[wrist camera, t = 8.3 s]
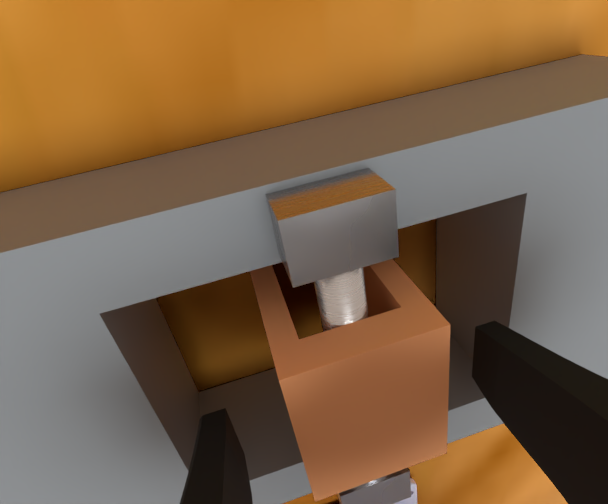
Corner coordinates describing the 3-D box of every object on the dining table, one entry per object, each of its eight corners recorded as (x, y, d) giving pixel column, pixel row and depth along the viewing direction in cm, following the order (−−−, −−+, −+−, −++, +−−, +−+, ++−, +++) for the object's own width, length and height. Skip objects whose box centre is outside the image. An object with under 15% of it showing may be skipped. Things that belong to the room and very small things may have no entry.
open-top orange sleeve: (367, 322, 17) (446, 452, 12) (274, 352, 16) (315, 501, 11) (354, 216, 14) (450, 324, 9) (243, 247, 14) (278, 380, 9)
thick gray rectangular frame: (535, 315, 20) (649, 410, 15) (86, 462, 18) (48, 636, 13) (582, 54, 14) (798, 72, 9) (-106, 218, 11) (-335, 373, 6)
